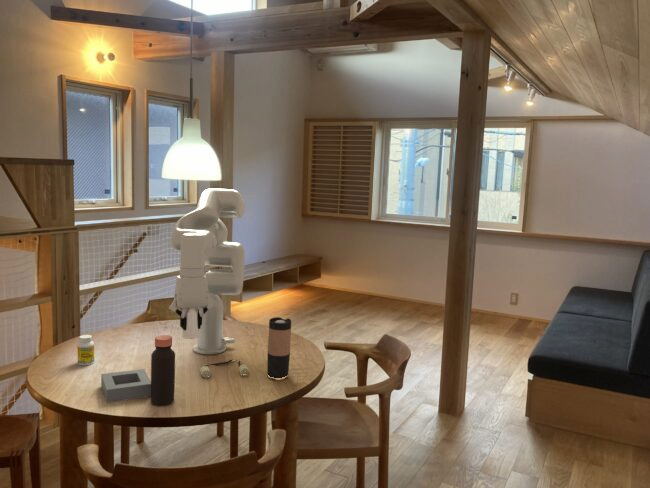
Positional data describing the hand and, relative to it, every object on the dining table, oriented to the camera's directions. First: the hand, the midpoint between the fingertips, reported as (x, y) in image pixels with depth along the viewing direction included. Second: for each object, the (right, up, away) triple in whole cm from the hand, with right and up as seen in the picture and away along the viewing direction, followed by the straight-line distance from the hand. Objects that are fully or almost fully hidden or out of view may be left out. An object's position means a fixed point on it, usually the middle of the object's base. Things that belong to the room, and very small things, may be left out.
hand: (191, 327), depth 176 cm
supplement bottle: (-41, -15, +16) cm, 46 cm away
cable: (+7, -18, +17) cm, 26 cm away
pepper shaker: (0, -3, 0) cm, 3 cm away
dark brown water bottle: (-6, -21, -11) cm, 24 cm away
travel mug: (+26, -19, +14) cm, 36 cm away
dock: (-19, -19, -5) cm, 27 cm away
